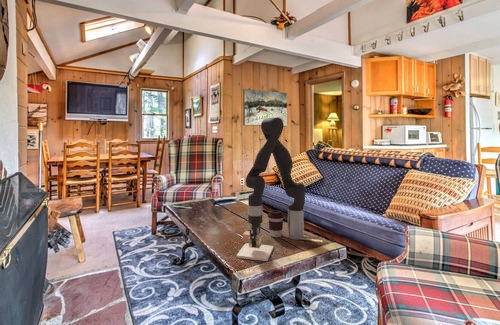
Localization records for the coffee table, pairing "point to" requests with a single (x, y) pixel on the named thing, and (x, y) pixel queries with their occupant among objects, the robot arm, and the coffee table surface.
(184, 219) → the coffee table surface
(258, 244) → the maple block
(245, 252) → the base plate
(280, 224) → the coffee cup
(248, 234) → the terracotta block
